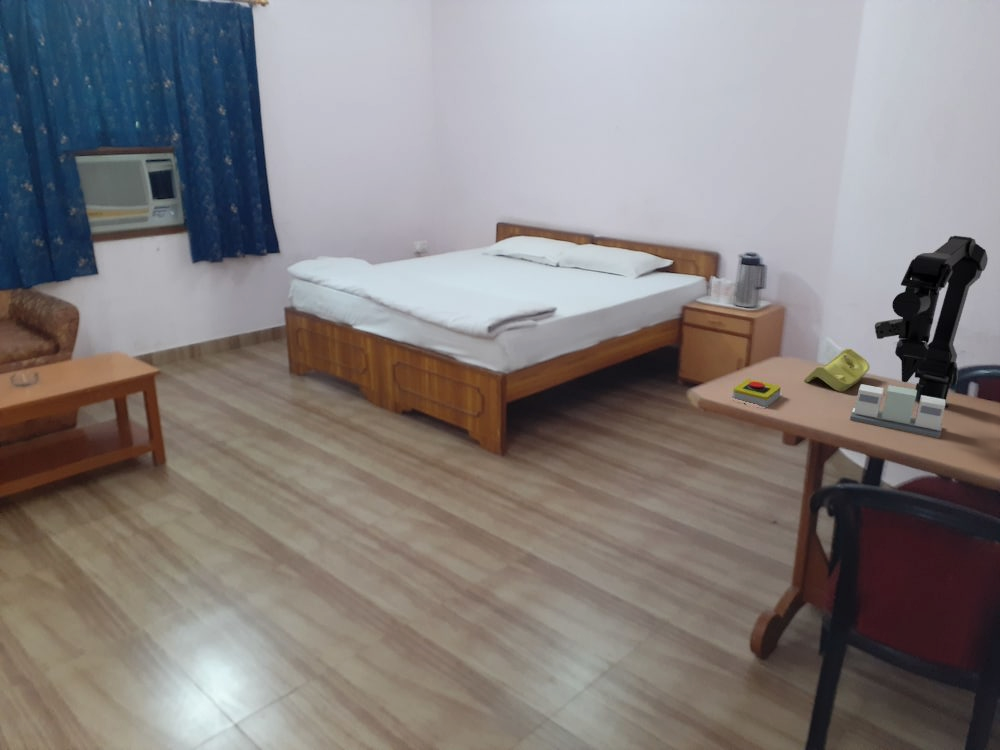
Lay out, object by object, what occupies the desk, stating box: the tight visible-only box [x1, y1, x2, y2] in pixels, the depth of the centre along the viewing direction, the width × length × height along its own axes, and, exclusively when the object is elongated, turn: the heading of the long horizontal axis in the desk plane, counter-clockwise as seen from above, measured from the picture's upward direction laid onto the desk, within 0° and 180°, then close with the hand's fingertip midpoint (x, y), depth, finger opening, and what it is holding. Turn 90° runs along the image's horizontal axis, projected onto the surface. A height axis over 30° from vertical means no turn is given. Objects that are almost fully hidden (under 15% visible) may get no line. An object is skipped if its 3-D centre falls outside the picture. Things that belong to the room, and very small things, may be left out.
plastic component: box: [803, 348, 870, 393], centre depth 206 cm, size 20×7×10 cm
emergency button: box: [731, 378, 783, 409], centre depth 190 cm, size 9×4×15 cm
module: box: [881, 384, 917, 424], centre depth 175 cm, size 6×5×7 cm
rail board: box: [849, 383, 946, 439], centre depth 175 cm, size 19×8×7 cm, turn 60°
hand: (905, 376), depth 173 cm, fingers open, 9 cm apart
